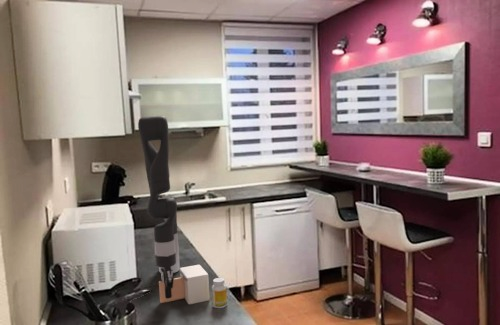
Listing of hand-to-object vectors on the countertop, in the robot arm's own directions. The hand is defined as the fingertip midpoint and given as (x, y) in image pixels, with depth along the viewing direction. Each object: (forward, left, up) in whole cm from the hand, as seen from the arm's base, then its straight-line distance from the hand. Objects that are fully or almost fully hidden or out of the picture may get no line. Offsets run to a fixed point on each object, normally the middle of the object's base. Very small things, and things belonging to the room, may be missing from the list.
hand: (168, 297), depth 158 cm
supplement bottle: (+12, +16, -2) cm, 20 cm away
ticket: (0, +4, -2) cm, 4 cm away
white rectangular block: (0, +10, -2) cm, 10 cm away
